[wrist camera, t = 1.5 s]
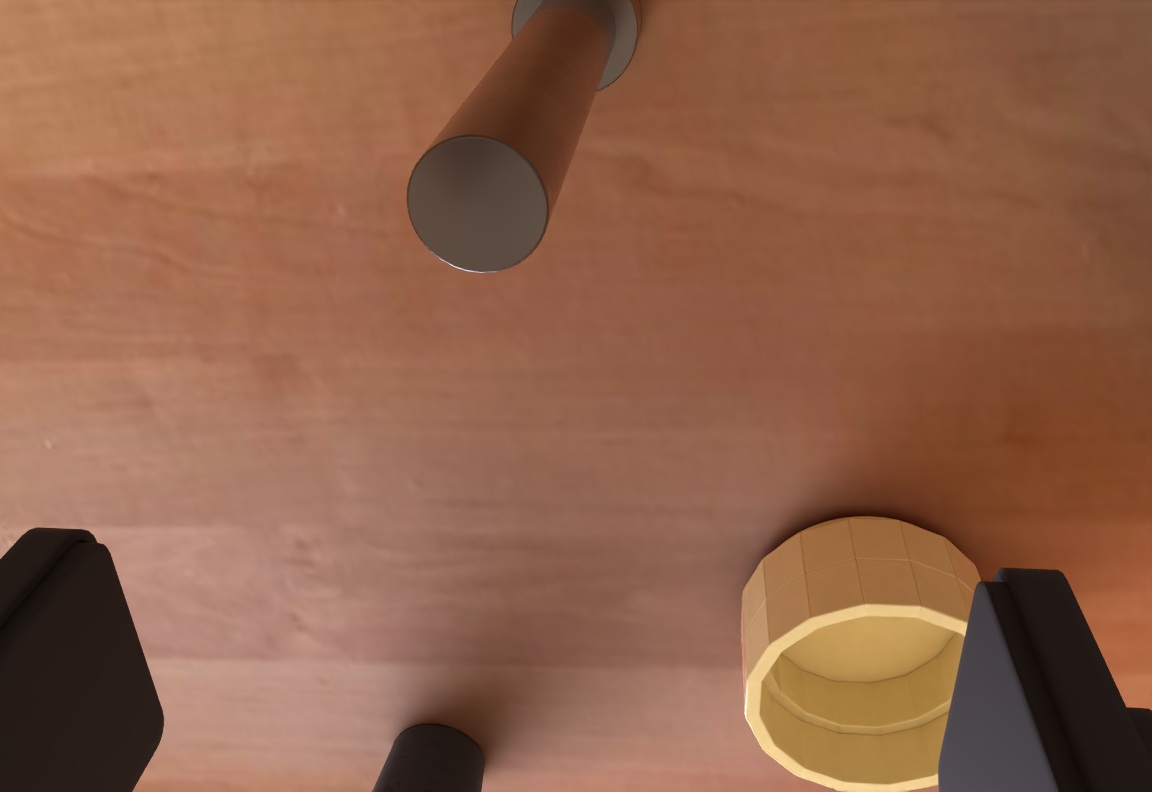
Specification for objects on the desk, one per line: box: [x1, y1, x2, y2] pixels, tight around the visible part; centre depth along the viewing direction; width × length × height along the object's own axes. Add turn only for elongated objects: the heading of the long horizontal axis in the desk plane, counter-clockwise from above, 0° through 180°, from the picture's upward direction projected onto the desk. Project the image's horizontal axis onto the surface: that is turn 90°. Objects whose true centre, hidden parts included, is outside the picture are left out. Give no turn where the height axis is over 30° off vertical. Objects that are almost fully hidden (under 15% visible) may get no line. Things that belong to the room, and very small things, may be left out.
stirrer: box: [407, 0, 641, 273], centre depth 26 cm, size 4×4×18 cm
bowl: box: [741, 516, 981, 792], centre depth 42 cm, size 10×10×6 cm
